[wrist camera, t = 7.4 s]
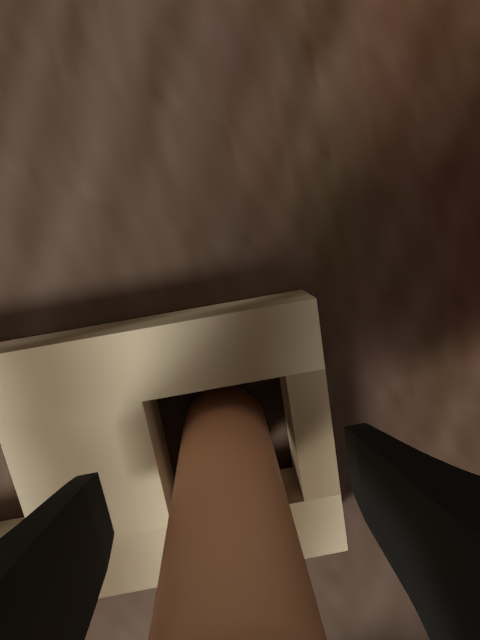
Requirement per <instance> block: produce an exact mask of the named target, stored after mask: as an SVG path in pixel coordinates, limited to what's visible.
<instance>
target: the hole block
mask: <svg viewBox="0 0 480 640" xmlns="http://www.w3.org/2000/svg"><path fill="white" fill-rule="evenodd" d="M277 377H279V379H280V386H281V392H282V399H283V406H284V412H285V419H286V425H287V432H288V438H289V445H290V451H291V458H292V465H293V467H291V468H285V469H280V472H281V476H282V480H283V483H284V487H285V490H286V494H287V498H288V501H289V505H290V509H291V512H292V516H293V519H294V523H295V527H296V530H297V534H298V537H299V541H300V545H301V548H302V552H303V555H304V559H307V558H312V557H317V556H322V555H327V554H333V553H338V552H343V551H348V547H347V539H346V531H345V523H344V515H343V507H342V499H341V491H340V483H339V475H338V467H337V459H336V451H335V443H334V435H333V427H332V419H331V411H330V403H329V395H328V387H327V379H326V371H325V363H324V355H323V347H322V339H321V331H320V323H319V315H318V307H317V299H316V298H315V297H314V296H312V295H310V294H309V293H307V292H305V291H304V290H296V291H290V292H284V293H279V294H273V295H267V296H261V297H256V298H250V299H244V300H238V301H233V302H227V303H221V304H215V305H210V306H204V307H198V308H192V309H187V310H181V311H175V312H169V313H164V314H158V315H152V316H147V317H141V318H135V319H129V320H124V321H118V322H112V323H106V324H101V325H95V326H89V327H83V328H78V329H72V330H66V331H60V332H55V333H49V334H43V335H37V336H32V337H26V338H20V339H14V340H9V341H3V342H0V444H1V447H2V450H3V453H4V456H5V459H6V462H7V465H8V468H9V471H10V474H11V477H12V480H13V483H14V486H15V489H16V492H17V495H18V498H19V502H20V505H21V508H22V511H23V514H24V517H22V518H16V519H11V520H5V521H0V538H1V537H2V536H3V535H5V534H6V533H7V532H8V531H10V530H11V529H12V528H13V527H15V526H16V525H17V524H18V523H20V522H21V521H22V520H23V519H24V518H26V517H27V516H28V515H29V514H30V513H32V512H33V511H34V510H35V509H36V508H37V507H39V506H40V505H41V504H42V503H43V502H45V501H46V500H47V499H48V498H49V497H50V496H52V495H53V494H54V493H55V492H56V491H58V490H59V489H60V488H61V487H62V486H64V485H65V484H66V483H68V482H69V481H70V480H72V479H73V478H74V477H76V476H79V475H84V474H90V473H95V472H98V474H99V478H100V482H101V485H102V489H103V493H104V496H105V500H106V504H107V507H108V511H109V514H110V518H111V522H112V525H113V529H114V539H113V544H112V550H111V555H110V560H109V565H108V569H107V573H106V576H105V579H104V582H103V585H102V588H101V591H100V595H99V598H103V597H108V596H114V595H119V594H124V593H129V592H135V591H140V590H145V589H150V588H155V587H157V585H158V579H159V573H160V567H161V561H162V555H163V548H164V542H165V536H166V530H167V524H168V518H169V512H170V506H171V500H172V494H173V488H174V482H175V478H174V473H173V469H172V464H171V460H170V455H169V451H168V447H167V442H166V438H165V433H164V429H163V425H162V420H161V416H160V411H159V407H158V403H157V399H160V398H166V397H171V396H177V395H182V394H188V393H194V392H199V391H205V390H210V389H216V388H221V387H227V386H233V385H238V384H244V383H249V382H255V381H260V380H266V379H272V378H277Z"/></svg>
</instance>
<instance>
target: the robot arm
mask: <svg viewBox="0 0 480 640" xmlns="http://www.w3.org/2000/svg"><path fill="white" fill-rule="evenodd" d="M344 429H345V438H346V446H347V455H348V463H349V472H350V480H351V489H352V491H353V493H354V496H355V498H356V501H357V503H358V505H359V508H360V510H361V512H362V515H363V517H364V519H365V521H366V523H367V525H368V527H369V528H370V530H371V532H372V534H373V535H374V537H375V539H376V541H377V542H378V544H379V546H380V548H381V549H382V551H383V553H384V554H385V556H386V558H387V560H388V561H389V563H390V565H391V566H392V568H393V570H394V572H395V573H396V575H397V577H398V579H399V580H400V582H401V584H402V585H403V587H404V589H405V591H406V592H407V594H408V596H409V598H410V600H411V601H412V603H413V605H414V607H415V609H416V611H417V613H418V615H419V617H420V619H421V621H422V623H423V625H424V627H425V630H426V632H427V634H428V636H429V638H430V640H480V476H479V475H476V474H473V473H470V472H467V471H465V470H462V469H460V468H457V467H455V466H452V465H450V464H448V463H445V462H443V461H441V460H438V459H436V458H434V457H432V456H430V455H427V454H425V453H423V452H421V451H419V450H417V449H415V448H413V447H411V446H409V445H407V444H405V443H403V442H401V441H399V440H397V439H395V438H393V437H392V436H390V435H388V434H386V433H384V432H382V431H380V430H378V429H376V428H374V427H372V426H370V425H368V424H366V423H362V424H357V425H351V426H346V427H344ZM113 539H114V529H113V525H112V522H111V518H110V514H109V511H108V507H107V504H106V500H105V496H104V493H103V489H102V485H101V482H100V478H99V474H98V472H95V473H90V474H84V475H79V476H76V477H74V478H73V479H72V480H70V481H69V482H68V483H66V484H65V485H64V486H62V487H61V488H60V489H59V490H58V491H56V492H55V493H54V494H53V495H52V496H50V497H49V498H48V499H47V500H46V501H45V502H43V503H42V504H41V505H40V506H39V507H37V508H36V509H35V510H34V511H33V512H32V513H30V514H29V515H28V516H27V517H26V518H24V519H23V520H22V521H21V522H20V523H18V524H17V525H16V526H15V527H13V528H12V529H11V530H10V531H8V532H7V533H6V534H5V535H3V536H2V537H1V538H0V640H85V637H86V634H87V631H88V628H89V625H90V622H91V619H92V616H93V613H94V610H95V607H96V604H97V601H98V598H99V595H100V591H101V588H102V585H103V582H104V579H105V576H106V573H107V569H108V565H109V560H110V555H111V550H112V544H113Z"/></svg>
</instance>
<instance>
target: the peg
mask: <svg viewBox="0 0 480 640" xmlns="http://www.w3.org/2000/svg"><path fill="white" fill-rule="evenodd" d="M149 640H327V639H326V635H325V631H324V628H323V624H322V621H321V617H320V613H319V610H318V606H317V602H316V599H315V595H314V592H313V588H312V584H311V581H310V577H309V574H308V570H307V566H306V563H305V559H304V555H303V552H302V548H301V545H300V541H299V537H298V534H297V530H296V527H295V523H294V519H293V516H292V512H291V509H290V505H289V501H288V498H287V494H286V490H285V487H284V483H283V480H282V476H281V472H280V469H279V465H278V462H277V458H276V454H275V451H274V447H273V443H272V440H271V436H270V433H269V429H268V425H267V422H266V418H265V415H264V411H263V409H262V406H261V405H260V403H259V402H258V400H257V399H256V398H255V397H254V396H253V395H252V394H250V393H249V392H247V391H245V390H243V389H241V388H238V387H233V386H227V387H221V388H216V389H210V390H206V391H204V392H203V393H201V394H200V395H199V396H197V397H196V398H195V399H194V400H193V402H192V403H191V404H190V406H189V408H188V410H187V412H186V416H185V421H184V427H183V433H182V439H181V445H180V451H179V457H178V463H177V469H176V476H175V482H174V488H173V494H172V500H171V506H170V512H169V518H168V524H167V530H166V536H165V542H164V548H163V555H162V561H161V567H160V573H159V579H158V585H157V591H156V597H155V603H154V609H153V615H152V621H151V627H150V634H149Z"/></svg>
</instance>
